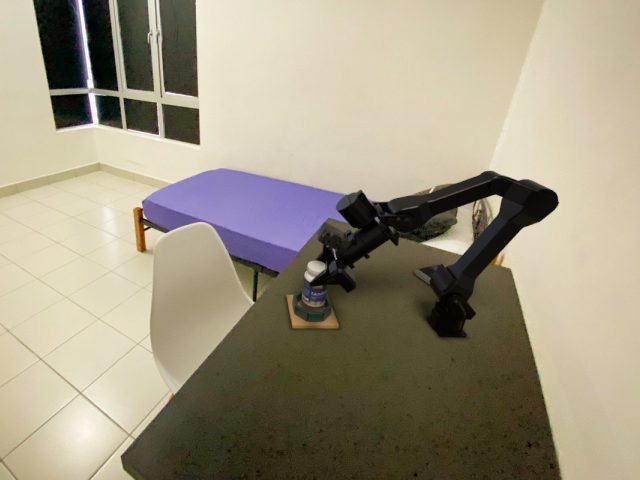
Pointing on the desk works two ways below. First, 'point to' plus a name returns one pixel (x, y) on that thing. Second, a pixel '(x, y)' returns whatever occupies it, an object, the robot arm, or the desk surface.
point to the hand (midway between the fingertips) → (310, 277)
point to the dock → (310, 313)
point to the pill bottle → (317, 293)
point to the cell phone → (426, 272)
